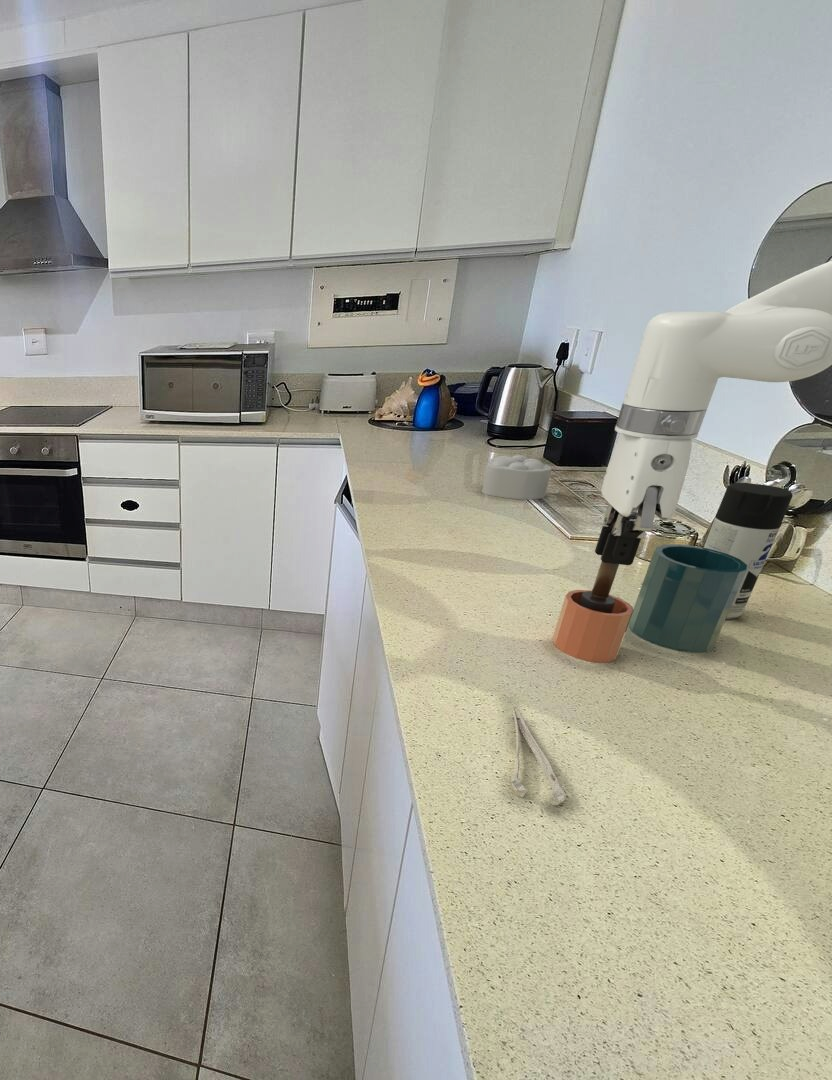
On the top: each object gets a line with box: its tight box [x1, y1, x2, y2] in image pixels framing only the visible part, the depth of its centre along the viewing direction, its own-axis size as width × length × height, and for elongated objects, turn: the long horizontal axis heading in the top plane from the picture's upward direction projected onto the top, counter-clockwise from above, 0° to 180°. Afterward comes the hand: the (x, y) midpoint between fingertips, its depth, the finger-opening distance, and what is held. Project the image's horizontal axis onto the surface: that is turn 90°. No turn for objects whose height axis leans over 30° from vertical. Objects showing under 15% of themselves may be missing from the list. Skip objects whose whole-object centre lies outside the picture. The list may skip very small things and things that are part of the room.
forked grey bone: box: [510, 706, 567, 806], centre depth 66 cm, size 17×5×2 cm, turn 155°
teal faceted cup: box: [628, 543, 747, 654], centre depth 82 cm, size 9×9×13 cm
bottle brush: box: [579, 520, 627, 613], centre depth 78 cm, size 4×4×18 cm
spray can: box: [703, 482, 794, 620], centre depth 87 cm, size 7×7×20 cm
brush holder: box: [551, 589, 634, 664], centre depth 81 cm, size 7×7×8 cm
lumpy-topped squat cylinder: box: [481, 454, 553, 501], centre depth 142 cm, size 10×13×9 cm
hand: (612, 558), depth 77 cm, fingers closed on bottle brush
